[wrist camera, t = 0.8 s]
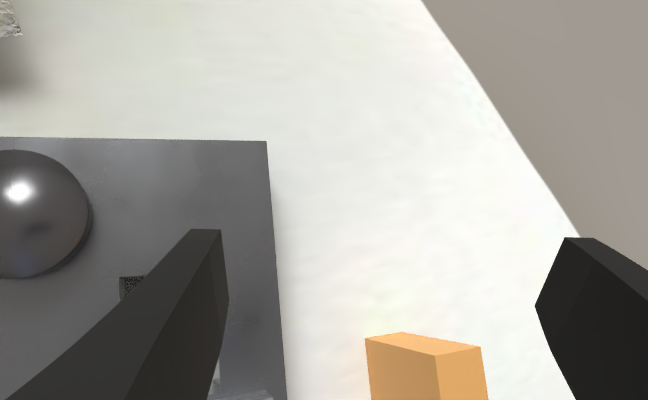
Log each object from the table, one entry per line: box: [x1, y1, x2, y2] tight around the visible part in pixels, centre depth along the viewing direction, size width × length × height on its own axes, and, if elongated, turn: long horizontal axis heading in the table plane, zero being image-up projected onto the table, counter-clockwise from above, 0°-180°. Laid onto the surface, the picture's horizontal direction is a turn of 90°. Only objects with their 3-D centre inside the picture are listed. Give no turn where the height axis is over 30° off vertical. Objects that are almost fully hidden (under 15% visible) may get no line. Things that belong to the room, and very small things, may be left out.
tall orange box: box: [365, 332, 488, 400], centre depth 22 cm, size 4×2×7 cm, turn 6°
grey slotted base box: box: [0, 137, 287, 400], centre depth 19 cm, size 16×14×4 cm
